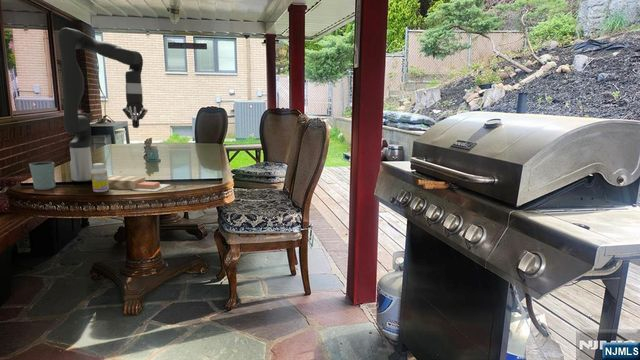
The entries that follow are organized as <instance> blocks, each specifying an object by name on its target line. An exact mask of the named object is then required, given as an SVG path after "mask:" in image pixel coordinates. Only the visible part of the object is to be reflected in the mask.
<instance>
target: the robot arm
mask: <svg viewBox="0 0 640 360" xmlns="http://www.w3.org/2000/svg"><path fill="white" fill-rule="evenodd" d="M57 40H58V46H59V51H60V58H61V69H62V70H61V71H62V87H63V128H64V130H65V132H66V133H67V134H68V135H70V136H71V135H74V137H73V138H72V140H70V141H69V143H68V144H69V152H70V153H69V154H70V162H69V167H70V176H71V179H70V180H71V181H74V182H87V181H92V175H91V171H92V170H93V163H92V153H91V141H92V128H91V127H92V126H91V123H90V122H91V121H90V120H89V118H87V116H85V115H79V104H80V103H81V99H82V97H83V95H84V92H85V77H84V74H83V71H82V70H81V68H80V65H79V63H78V61H77V55H76V50H79V49H80V50H84V51H85V50H87V51H90V52H93V53H96V54H98V55H100V56H103V57H105V58H107V59H110V60H114V61H117V62H119V63H121V64H124V65H127V66H128V70H127V71H126V72H125V75H124V76H125V101H126V107H124V108H122V112H123V113H124V114H125V116H126V117H127V118H128V119H129V120H131V122H132V127H133V128H134V129H138V128H139V127H140V120H143V118H144V117H145V116H146V114H148V109H146V108H145V107H144V105H143V102H144V101H143V99H144V97H143V85H142V71H143V67H144V65H143V64H144V60H143V56H142V54H141V53H140V52H139V51H136V50H130V49H126V48H122V47H121V46H118V45H116V44H112V43H110V42H106V41H103V40H99V39H96V38H94V37H92V36H89V35H88V34H86V33H84V32H82V31H80V30H78V29H75V28H69V27H63V28H61V29H60V30H59V32H58V37H57Z"/></svg>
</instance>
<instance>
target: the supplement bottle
mask: <svg viewBox="0 0 640 360" xmlns="http://www.w3.org/2000/svg"><path fill="white" fill-rule="evenodd" d="M91 175H92V180H91V182H92V183H91V185H92V191H93V192H94V193H103V192H104V193H105V192H107V191H109V190H110V188H109V185H108V170H107V168H105V163H102V162H99V163H96V162H95V163H92V171H91Z"/></svg>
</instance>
